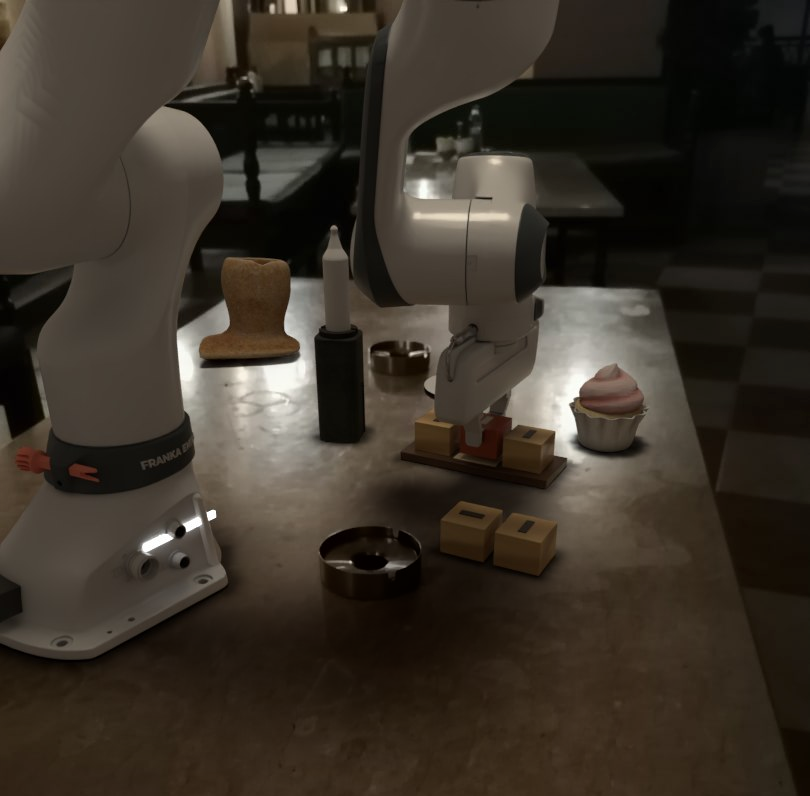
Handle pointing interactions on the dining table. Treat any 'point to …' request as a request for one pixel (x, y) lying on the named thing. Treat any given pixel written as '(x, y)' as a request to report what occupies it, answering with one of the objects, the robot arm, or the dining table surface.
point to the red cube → (488, 437)
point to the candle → (339, 354)
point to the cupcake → (608, 410)
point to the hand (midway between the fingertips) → (485, 435)
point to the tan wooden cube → (525, 543)
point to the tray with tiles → (520, 462)
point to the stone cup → (253, 311)
